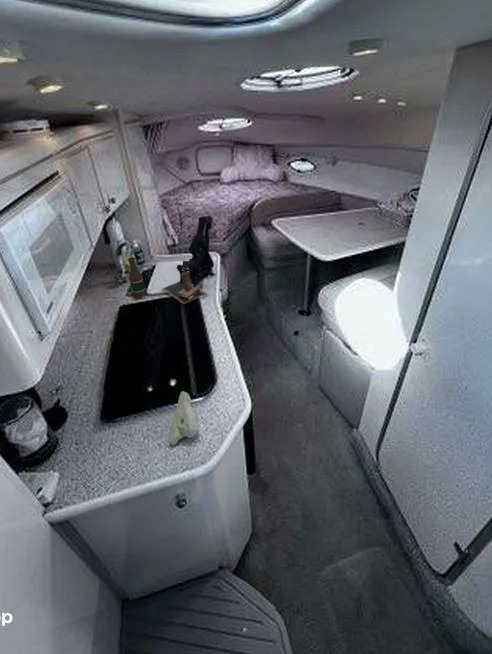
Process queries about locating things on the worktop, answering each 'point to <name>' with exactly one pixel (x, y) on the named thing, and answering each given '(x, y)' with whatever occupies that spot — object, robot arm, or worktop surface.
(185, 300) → the chalkboard
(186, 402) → the cream lumpy piece
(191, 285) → the eraser
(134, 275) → the beer bottle
